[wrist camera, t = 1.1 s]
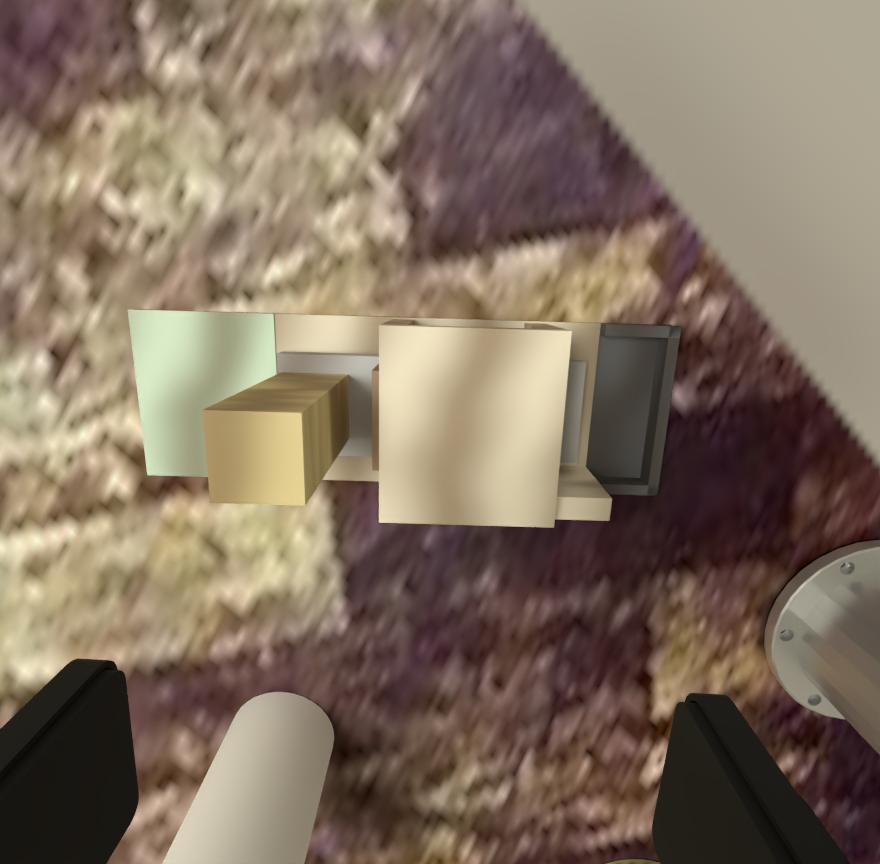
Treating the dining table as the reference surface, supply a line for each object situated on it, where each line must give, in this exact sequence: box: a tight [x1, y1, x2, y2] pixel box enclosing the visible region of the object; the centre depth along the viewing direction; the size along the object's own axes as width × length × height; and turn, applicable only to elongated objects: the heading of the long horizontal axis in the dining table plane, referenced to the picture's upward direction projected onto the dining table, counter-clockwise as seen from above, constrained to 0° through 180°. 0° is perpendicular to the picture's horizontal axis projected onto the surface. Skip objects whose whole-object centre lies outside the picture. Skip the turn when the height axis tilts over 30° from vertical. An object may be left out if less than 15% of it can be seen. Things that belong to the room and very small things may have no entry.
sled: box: [202, 351, 586, 506], centre depth 25 cm, size 16×6×11 cm, turn 88°
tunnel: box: [128, 309, 681, 528], centre depth 27 cm, size 30×10×6 cm, turn 88°
